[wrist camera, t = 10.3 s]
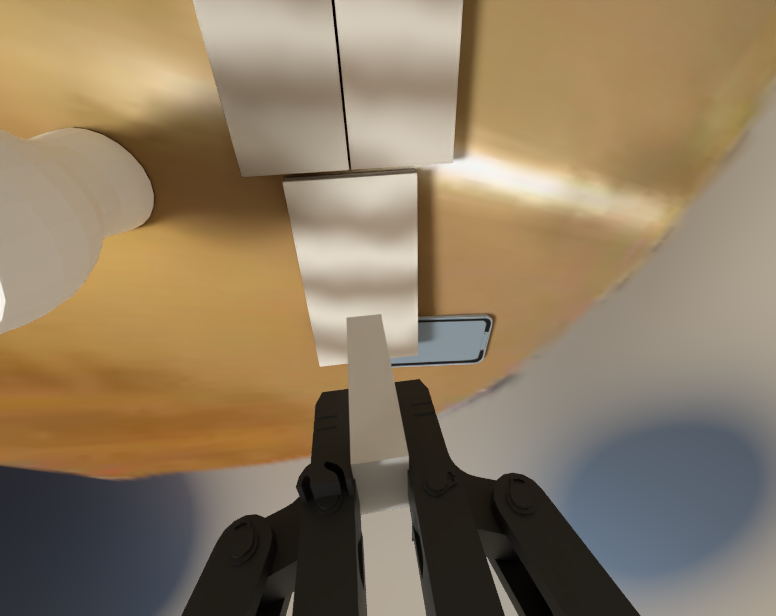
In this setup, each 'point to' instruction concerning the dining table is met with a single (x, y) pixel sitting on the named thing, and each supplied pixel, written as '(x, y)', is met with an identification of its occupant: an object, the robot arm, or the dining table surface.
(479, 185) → the dining table surface
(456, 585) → the robot arm
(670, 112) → the dining table surface
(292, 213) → the silvery beige flat slab
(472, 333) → the smartphone
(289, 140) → the laid floor
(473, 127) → the dining table surface
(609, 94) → the dining table surface
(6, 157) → the cup
